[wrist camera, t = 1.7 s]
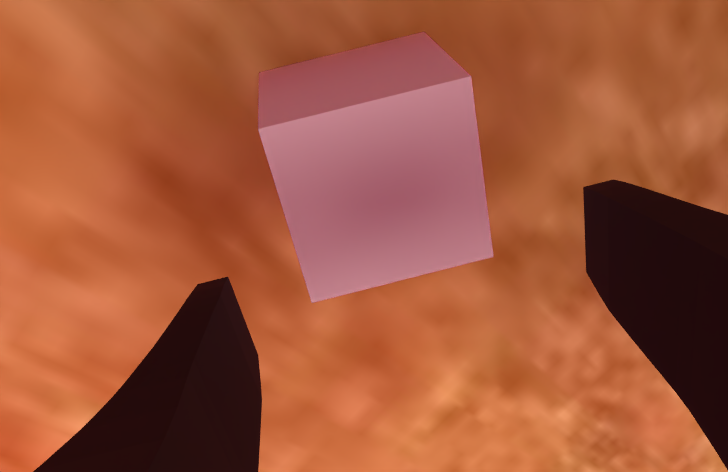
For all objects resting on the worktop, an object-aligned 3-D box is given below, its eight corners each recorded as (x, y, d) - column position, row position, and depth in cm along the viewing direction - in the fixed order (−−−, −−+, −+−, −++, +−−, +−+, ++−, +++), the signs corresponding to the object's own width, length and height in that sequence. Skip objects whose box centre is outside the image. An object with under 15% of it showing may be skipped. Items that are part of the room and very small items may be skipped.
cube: (446, 180, 21) (493, 256, 17) (301, 217, 21) (312, 302, 17) (423, 31, 19) (470, 76, 15) (259, 71, 19) (257, 129, 15)
